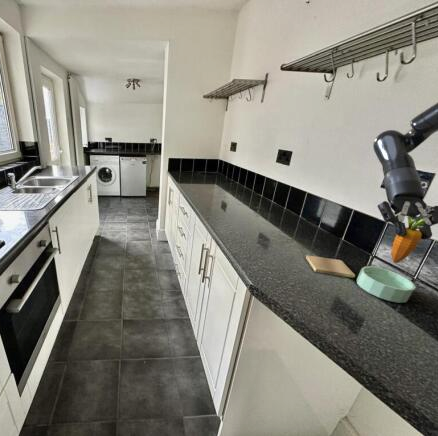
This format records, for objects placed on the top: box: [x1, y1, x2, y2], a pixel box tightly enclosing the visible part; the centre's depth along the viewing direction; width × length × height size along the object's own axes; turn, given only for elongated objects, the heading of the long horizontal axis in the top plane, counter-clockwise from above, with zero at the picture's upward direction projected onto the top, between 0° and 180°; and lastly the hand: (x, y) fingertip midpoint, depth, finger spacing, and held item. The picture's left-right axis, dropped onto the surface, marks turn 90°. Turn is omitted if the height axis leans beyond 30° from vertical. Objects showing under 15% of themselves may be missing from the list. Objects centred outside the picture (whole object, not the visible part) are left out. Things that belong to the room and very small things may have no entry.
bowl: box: [356, 265, 417, 304], centre depth 74 cm, size 12×12×5 cm
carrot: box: [391, 216, 425, 264], centre depth 68 cm, size 5×5×15 cm
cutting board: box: [305, 254, 356, 279], centre depth 86 cm, size 12×10×1 cm
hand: (414, 236), depth 65 cm, fingers closed on carrot, 5 cm apart
